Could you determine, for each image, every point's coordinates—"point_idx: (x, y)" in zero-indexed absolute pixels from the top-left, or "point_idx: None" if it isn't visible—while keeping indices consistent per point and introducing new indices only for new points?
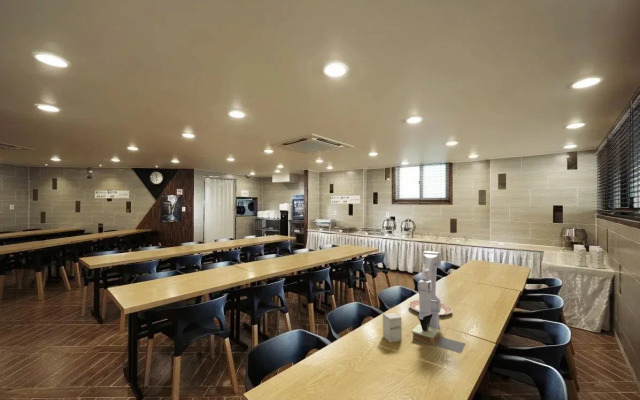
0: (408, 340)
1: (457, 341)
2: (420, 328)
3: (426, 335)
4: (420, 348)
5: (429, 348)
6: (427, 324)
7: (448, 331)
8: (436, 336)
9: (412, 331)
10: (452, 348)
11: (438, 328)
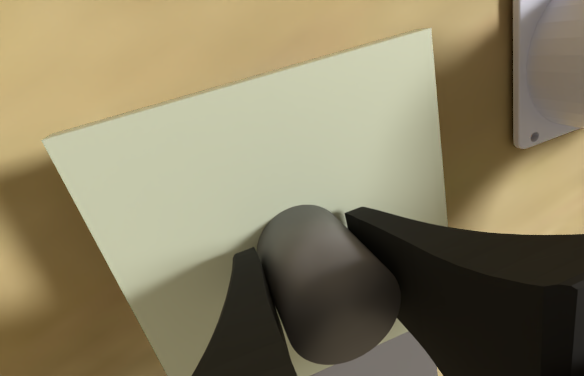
0: (25, 91)
1: (433, 363)
2: (290, 167)
3: (160, 358)
4: (7, 314)
5: (114, 349)
6: (331, 364)
7: (572, 204)
8: None
9: (55, 155)
10: None
11: (576, 129)
